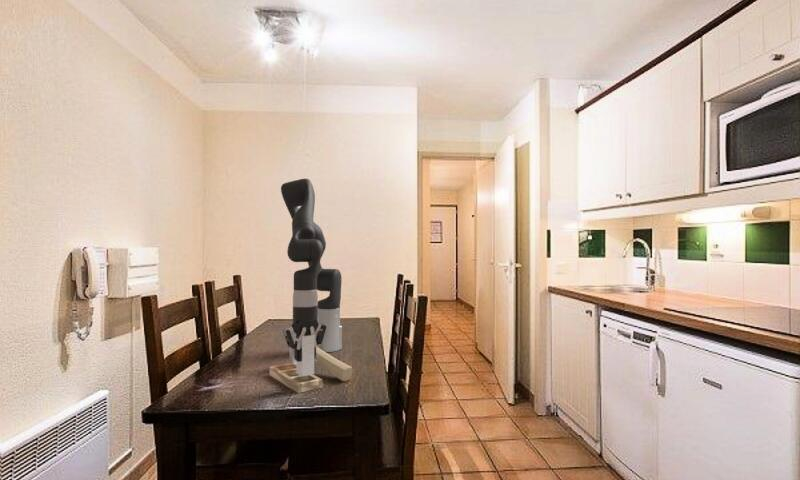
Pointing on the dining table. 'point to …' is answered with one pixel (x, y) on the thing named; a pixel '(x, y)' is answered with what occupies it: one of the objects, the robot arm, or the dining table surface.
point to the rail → (295, 378)
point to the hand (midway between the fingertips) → (305, 359)
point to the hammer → (327, 363)
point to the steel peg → (306, 356)
